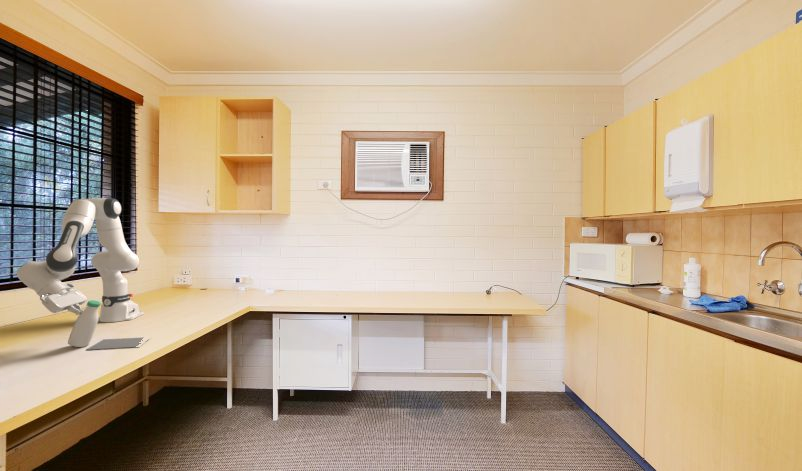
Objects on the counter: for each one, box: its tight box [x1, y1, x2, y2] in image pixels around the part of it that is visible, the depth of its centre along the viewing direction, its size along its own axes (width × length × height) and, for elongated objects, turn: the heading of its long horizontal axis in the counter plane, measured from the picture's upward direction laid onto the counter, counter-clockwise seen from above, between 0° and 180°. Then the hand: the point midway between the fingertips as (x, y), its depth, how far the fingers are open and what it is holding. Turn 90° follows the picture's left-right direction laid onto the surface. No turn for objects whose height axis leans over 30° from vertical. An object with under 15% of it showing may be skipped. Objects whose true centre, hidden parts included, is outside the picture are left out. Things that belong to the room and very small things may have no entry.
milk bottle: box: [67, 299, 102, 348], centre depth 160 cm, size 8×8×20 cm
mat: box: [85, 336, 145, 351], centre depth 165 cm, size 20×14×1 cm
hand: (80, 313), depth 159 cm, fingers closed, pressing on milk bottle
